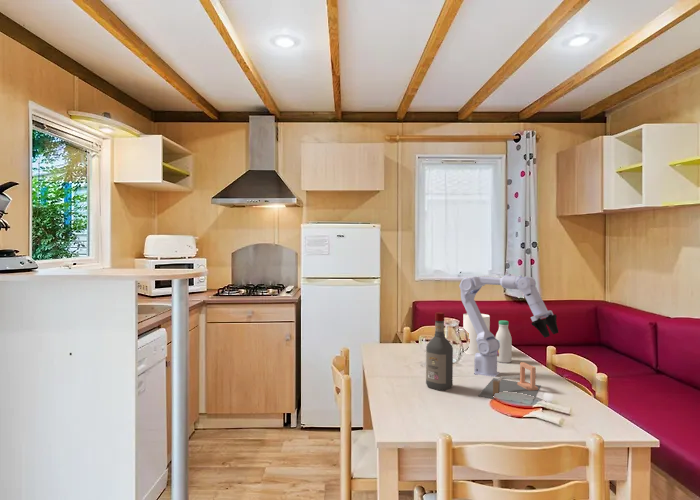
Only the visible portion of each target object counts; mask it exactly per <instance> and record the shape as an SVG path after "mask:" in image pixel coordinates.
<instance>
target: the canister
mask: <svg viewBox="0 0 700 500" xmlns="http://www.w3.org/2000/svg"><path fill="white" fill-rule="evenodd" d="M481 315H482V317H483V319H484V322H485V324H486V326H487V328H488V330H489V331H490V329H491V328H490V327H491V326H490V325H491V321H490V319H491V316H490V315H489V314H487V313H486V314H485V313H481ZM462 319H463V320H462V321H463V323H462V325H463V326H462V329H463V328H464V329H465V330H466V331H467V332H468V333H469V339H470V344H469V348H468V350H467V351H466V352H465V353H466V354H465V353H464V354H465V355H468V354H469V356H474V357H475V354H476V353H480V352H479V350H478V344H477V341H476V339H477V333H476V331H475V329H474V327H473V325H472V322H471V320H470V318H469V316H468V314H467V313H463V318H462ZM490 332H491V331H490Z"/></svg>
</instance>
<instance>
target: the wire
mask: <svg viewBox="0 0 700 500" xmlns="http://www.w3.org/2000/svg"><path fill="white" fill-rule="evenodd" d="M497 379H498V380H494V381H493V396H494V394H495V393H499V392H500V382H501V380H502V379H503V380H510V379H511V380H512V379H520V374H516V375H514V374H513V375H502V376H499V377H498V378H497Z"/></svg>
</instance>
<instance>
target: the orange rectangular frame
mask: <svg viewBox="0 0 700 500" xmlns="http://www.w3.org/2000/svg"><path fill="white" fill-rule="evenodd" d="M526 370H528V371H530V372H529V373H530V376H529V378H530V380H529V381H530V382H528V381H526ZM519 375H520V378H519V381H516V382H517V385H519V386H521V387H523V388H525V389H527V390H529V391H531V390H538V387H536V386H535V385H536V382H537V380H536V379H537V377H536V375H537V374H536V367H535V366H534V365H531V364H528V363H526V362H523V361H522V362H520V363H519Z"/></svg>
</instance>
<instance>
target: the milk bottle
mask: <svg viewBox="0 0 700 500" xmlns="http://www.w3.org/2000/svg"><path fill="white" fill-rule="evenodd" d="M509 324H510V323H509V321H508V320H505V319H504V320H502V319H501V320H498V330H497V332H496V334H495V338H496V339H497V340H498V341H499V343H500V348H499V350H498V351H497V363H502V364H505V363H507V364H509V363H510V364H511V362H512V360H513V359H512V353H513V349H512V346H513V345H512V344H513V343H512V341H513V340H512V336H511V335H512V334H511V332H510V329H509Z"/></svg>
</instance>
